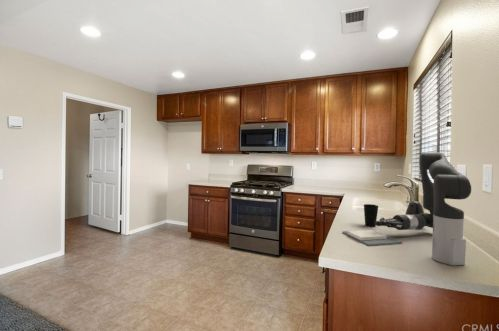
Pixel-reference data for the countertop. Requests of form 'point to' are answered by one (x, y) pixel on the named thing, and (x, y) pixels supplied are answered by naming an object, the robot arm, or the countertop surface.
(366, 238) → the tile
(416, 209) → the pump dispenser
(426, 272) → the countertop surface
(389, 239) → the mat
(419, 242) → the countertop surface
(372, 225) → the cup
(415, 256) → the countertop surface
